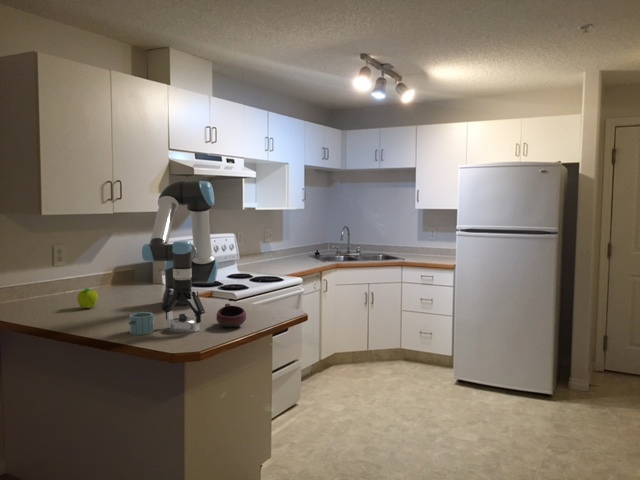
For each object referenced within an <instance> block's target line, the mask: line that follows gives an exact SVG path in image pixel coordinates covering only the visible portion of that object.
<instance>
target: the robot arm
mask: <svg viewBox="0 0 640 480" xmlns="http://www.w3.org/2000/svg"><path fill="white" fill-rule="evenodd" d="M214 193H215V192H214V189H213V185H212V183H211V182H209V181H205V180H203V181H202V180H186V181H185V180H177V181H174V182H172V183H170V184H168V185H167V186H166V187H164V189H163V190H162V191H161V192H160V194H159V195H158V200H157V205H158V209H157V212H156V216H155V221H154V225H153V227H152V233H151V237H150V241H149V243H144V244H143V245H142V248H141V257H142V259H143V261H145V262H150V263H151V262H154V263H155V262H165V263H164V283H165V289H164V292H163V297H162V299H161V304H162V306H161V310H162V311H164V312H165V320H166V325H167V326H166V328H167V329H170V323H169V321H170V320H172V319H174V317H173V316H174V314H173V311H172V310H173V308H174V307H177V306H179V307H180V306H187V305H189V307H190V309H191V310H192V312H193V313H194V315H193V318H194V331H193V332H198V331H200V330H201V329H200V323H201V322H202V317H201V316H202V315H203V314H206V310H205V307H204V306H203V303H202V301H201V299H200V297H199V291H198V290H195V291H194V290H193V291H192V288H193V284H210V283H211V284H212V283H215V282H216V281H217V276H218V269H219V261H218V260H217V259H216V258H215V255H213V254H212V243H211V228H210V214H209V212H210V210H212V206H214V205H215V194H214ZM179 206H186V209H187V211H188V212H190V219H191V232H192V233H191V234H192V242H191V241H189V240H177V241H173V243H169V240H170V235H171V232H172V231H171V230H172V227H173V221H174V217H175V213H176V211H177V210H178V208H179Z"/></svg>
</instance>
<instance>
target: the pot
mask: <svg viewBox="0 0 640 480" xmlns="http://www.w3.org/2000/svg"><path fill="white" fill-rule="evenodd" d="M128 316H129V317H128V318H129V320H128V325H129V334H131V335H135V336H139V335H150V334H152V333H154V332H155V314H154V312H149V311H148V312H145V311H144V312H136V313H131V314H130V315H128Z"/></svg>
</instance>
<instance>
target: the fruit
mask: <svg viewBox="0 0 640 480" xmlns="http://www.w3.org/2000/svg"><path fill="white" fill-rule="evenodd" d="M76 300H77V304H78V305H79V306H80V307H81V308H82V309H85V308H89V309H93V308H94V307H95V306H96V304H97V302H98V300H99V294H98V293H97V291H96V290H91V289H90V288H89V287H88V288H87V287H86V288H83V289H82V290H80V291H79V292H78V295H77V299H76Z"/></svg>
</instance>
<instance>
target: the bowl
mask: <svg viewBox="0 0 640 480" xmlns="http://www.w3.org/2000/svg"><path fill="white" fill-rule="evenodd" d="M215 319H216V321H217V323H218V324H219V325H220V326H223V327H225V328H236V327H239V326H241V325H243V324H244V323H245V322H246V320H247V312H246V310H245V309H244V308H243V307H241V306H237V305H231V304H230V303H225V305H224V306H223V307H221V308H219V309H218V310H217V313H216V318H215Z"/></svg>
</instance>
